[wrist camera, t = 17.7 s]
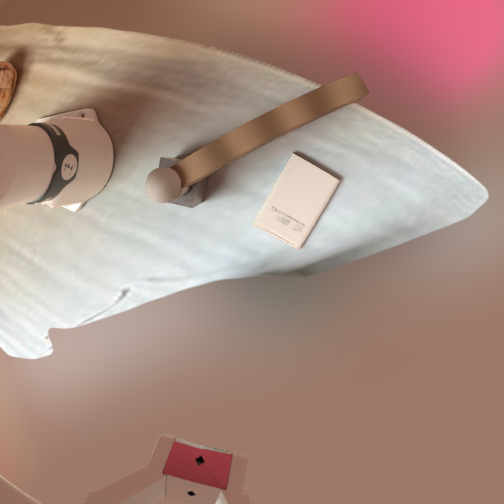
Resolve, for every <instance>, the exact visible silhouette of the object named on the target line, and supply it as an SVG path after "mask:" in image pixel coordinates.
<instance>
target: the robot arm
mask: <svg viewBox="0 0 504 504" xmlns="http://www.w3.org/2000/svg"><path fill="white" fill-rule="evenodd" d="M83 115H84V117H83ZM113 159H114V154H113V146H112V142H111V139H110V137H109V135H108V133H107V132H106V130H105V129H104V128H103V127H102V126H101V125H100V123H99V122H98V118H97V115H96V112H95V110H94V109H92V108H87V109H81V110H76V111H71V112H67V113H62V114H58V115H53V116H49V117H45V118H41V119H38V120H36V122H35V123H32V124H29V125H0V211H2V210H5V209H8V208H11V207H14V206H18V205H21V204H25V203H26V204H40V203H42V204H43V205H50V207H51V208H56V207H62V206H63V207H65V208H67V209H69V210H71V211H78V210H80V209H81V207H82V206H83V205H84V203H85V202H86V201H87V200H88V199H90V198H91V197H93V196H95V195H96V194H98V193H99V192H100V191H101V190H102V189H103V187H104V186H105V185H106V183H107V181H108V179H109V177H110V174H111V171H112V167H113ZM247 462H248V457H247V455H243V454H237V453H232V452H229V451H224V450H220V449H216V448H212V447H208V446H202V445H198V444H195V443H192V442H188V441H185V440H182V439H178V438H176V437H172V436H169V435H166V434H163V433H161V435H160V436H159V438H158V441H157V443H156V445H155V447H154V450H153V452H152V454H151V457H150V459H149V461H148V464H147V466H146V468H144V467H140V468H138V469H137V470H135V471H133V472H131V473H129V474H127V475H125V476H123V477H121V478H120V479H118V480H116V481H114V482H112V483H110V484H108V485H106V486H103V487H101V488H99V489H97V490H95V491H93V492H91V493H89V495H88V497H87V499H86V501H85V503H84V504H157V503H159V502H160V501H162V500H163V499H164V498H165V497H168V498H171V499H174V500H178V501H182V502H186V503H190V504H253V503H252V501H251V500H250V498H249V496H248V495H247V494H243V492H244V484H245V476H246V470H247ZM0 504H42V503H40V502H39V501H37V500H35V499H34V498H32V497H31V496H29V495H28V494H26V493H25V492H23V491H22V490H20V489H19V488H18V487H16V486H15V485H13V484H12V483H11V482H9V481H8V480H6V479H5V478H4V477H2V476H1V475H0Z"/></svg>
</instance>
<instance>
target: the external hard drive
mask: <svg viewBox="0 0 504 504" xmlns="http://www.w3.org/2000/svg"><path fill="white" fill-rule="evenodd" d="M339 182H340V180H338V179H337V178H335V177H333V176H332V175H330V174H328V173H327V172H325V171H323V170H322V169H320V168H318V167H316V166H315V165H313V164H311V163H310V162H308V161H306V160H304V159H303V158H301V157H299V156H297V155H295V154H294V153H292V154H291V156H290V158H289V160H288V162H287V163H286V165H285V167H284V169H283V171H282V173H281V174H280V176H279V178H278V180H277V181H276V183H275V185H274V187H273V189H272V190H271V192H270V194H269V196H268V198H267V199H266V201H265V203H264V205H263V207H262V208H261V210H260V212H259V214H258V216H257V218H256V219H255V221H254V223H253V225H254V226H256V227H257V228H259V229H261V230H263V231H265V232H267V233H269V234H270V235H272V236H274V237H276V238H278V239H279V240H281V241H283V242H285V243H287V244H288V245H290V246H292V247H294V248H296V249H298V250H299V249H300V248H301V246H302V244H303V243H304V241H305V239H306V238H307V236H308V234H309V233H310V231H311V230H312V228H313V226H314V225H315V223H316V221H317V219H318V218H319V216H320V214H321V213H322V211H323V209H324V208H325V206H326V204H327V203H328V201H329V199H330V197H331V196H332V194H333V192H334V190H335V189H336V187H337V185H338V183H339Z"/></svg>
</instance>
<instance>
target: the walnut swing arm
mask: <svg viewBox="0 0 504 504" xmlns="http://www.w3.org/2000/svg"><path fill="white" fill-rule="evenodd" d="M367 94H369V92H368V90H367V88H366V87H365V85H364V83H363V81H362V80H361V78H360V76H359V75H358V73H357V72H356V73H353V74H351V75H348V76H346V77H343V78H341V79H339V80H336V81H334V82H331V83H329V84H327V85H324V86H322V87H320V88H318V89H315V90H313V91H311V92H309V93H306V94H304V95H302V96H300V97H298V98H296V99H293V100H291V101H289V102H287V103H285V104H283V105H281V106H279V107H277V108H275V109H273V110H271V111H269V112H267V113H265V114H263V115H261V116H259V117H257V118H255V119H253V120H251V121H249V122H248V123H246V124H244V125H242V126H240V127H238V128H236V129H235V130H233V131H231V132H229V133H227V134H226V135H224V136H222V137H220V138H218V139H217V140H215V141H213V142H211V143H210V144H208V145H206V146H205V147H203V148H201V149H199V150H198V151H196V152H194V153H193V154H191V155H189V156H188V157H186V158H184V159H183V160H181V161H180V162H178V163H176V164H175V165H173V166H172V167H161V168H157V169H154V170H153V171H152V172H151V173H150V174H149V175H148V177H147V179H146V185H145V186H146V191H147V194H148V196H149V197H150V198H151V199H152V200H153V201H155V202H157V203H167V202H169V201H172V200H175V199H178V198H180V197H182V196H184V195H185V194H186V193H187V192H188V190H189V187H190V186H191V185H193V184H194V183H196V182H198V181H200V180H201V179H203V178H205V177H206V176H208V175H210V174H212V173H213V172H215V171H217V170H219V169H221V168H222V167H224V166H226V165H228V164H230V163H231V162H233V161H235V160H237V159H239V158H241V157H242V156H244V155H246V154H248V153H250V152H252V151H254V150H255V149H257V148H259V147H261V146H263V145H265V144H267V143H269V142H271V141H273V140H275V139H277V138H279V137H281V136H283V135H285V134H287V133H289V132H291V131H293V130H295V129H297V128H299V127H301V126H303V125H305V124H307V123H309V122H312V121H314V120H316V119H318V118H320V117H322V116H324V115H327V114H329V113H331V112H333V111H335V110H338V109H340V108H342V107H344V106H347V105H349V104H351V103H354V102H356V101H358V100H361V99H362V98H363V97H365V96H366V95H367Z"/></svg>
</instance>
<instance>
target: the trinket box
mask: <svg viewBox="0 0 504 504" xmlns="http://www.w3.org/2000/svg"><path fill="white" fill-rule="evenodd" d="M16 79H17V72H16V69H15V68H14V67H13V66H12V65H11V64H10V63H8V62H4V61H1V62H0V119H1V118H2V116H3V115H4V113H5V111H6V109H7V107H8V105H9V103H10V100H11V97H12V95H13V92H14V88H15V84H16Z"/></svg>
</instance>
